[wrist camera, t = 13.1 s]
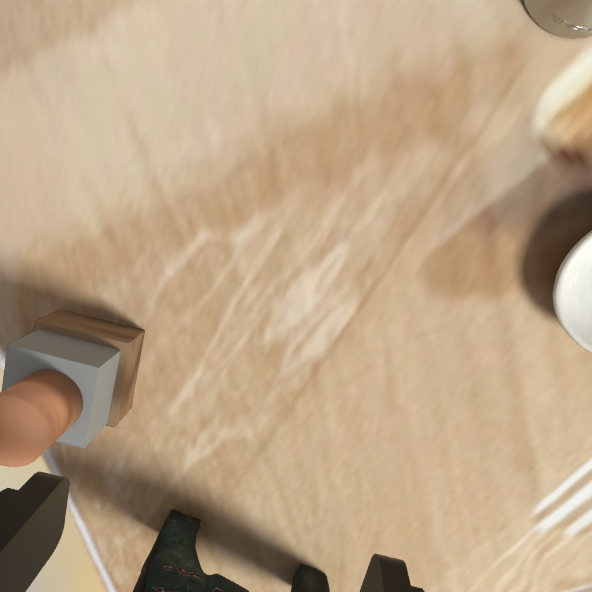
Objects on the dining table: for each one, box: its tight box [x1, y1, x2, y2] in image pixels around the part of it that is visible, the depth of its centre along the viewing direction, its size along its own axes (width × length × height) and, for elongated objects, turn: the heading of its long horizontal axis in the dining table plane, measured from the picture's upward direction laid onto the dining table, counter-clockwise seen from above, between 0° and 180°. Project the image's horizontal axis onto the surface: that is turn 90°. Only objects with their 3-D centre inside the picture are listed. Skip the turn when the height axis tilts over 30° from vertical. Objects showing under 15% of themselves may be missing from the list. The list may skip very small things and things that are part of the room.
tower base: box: [34, 310, 145, 428], centre depth 40 cm, size 8×8×4 cm
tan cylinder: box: [0, 369, 83, 467], centre depth 32 cm, size 5×5×5 cm
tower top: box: [2, 329, 121, 449], centre depth 36 cm, size 7×7×4 cm
